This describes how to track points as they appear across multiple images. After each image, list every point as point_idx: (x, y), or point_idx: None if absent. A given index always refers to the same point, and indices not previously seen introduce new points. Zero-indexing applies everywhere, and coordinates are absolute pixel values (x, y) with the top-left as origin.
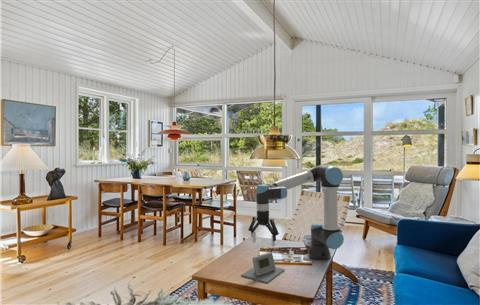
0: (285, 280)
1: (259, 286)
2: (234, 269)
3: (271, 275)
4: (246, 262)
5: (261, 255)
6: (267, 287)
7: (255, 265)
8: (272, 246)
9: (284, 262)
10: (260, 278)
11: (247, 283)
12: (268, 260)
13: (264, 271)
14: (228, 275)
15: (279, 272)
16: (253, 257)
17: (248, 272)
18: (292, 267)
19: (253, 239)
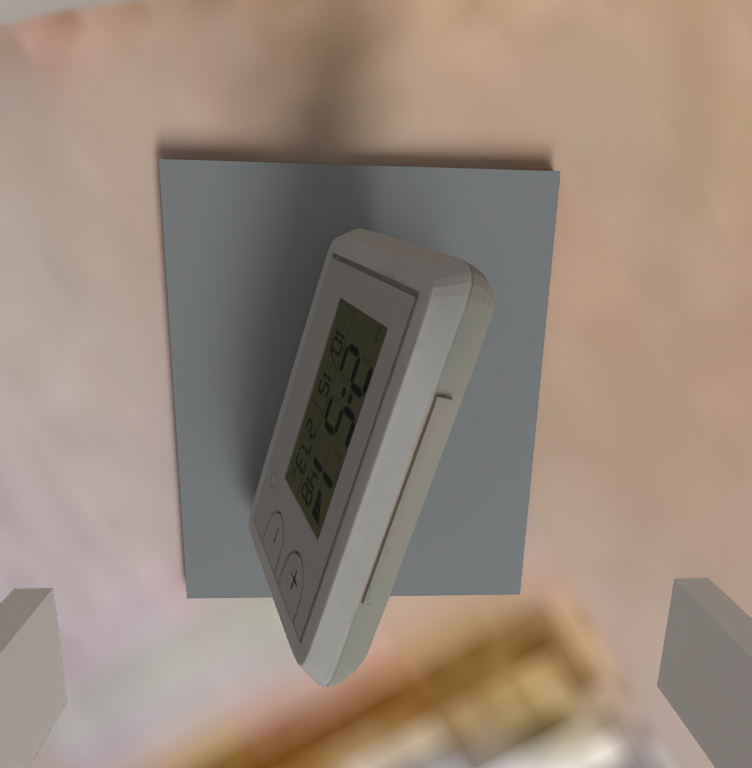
0: (31, 362)
1: (195, 24)
2: (725, 306)
3: (220, 365)
4: (684, 554)
5: (389, 464)
6: (95, 56)
7: (393, 248)
8: (16, 593)
9: (306, 763)
10: (288, 211)
11: (375, 18)
12: (305, 512)
13: (303, 348)
14: (712, 102)
15: (187, 491)
16: (474, 296)
17: (513, 289)
18: (163, 699)
19: (745, 651)
